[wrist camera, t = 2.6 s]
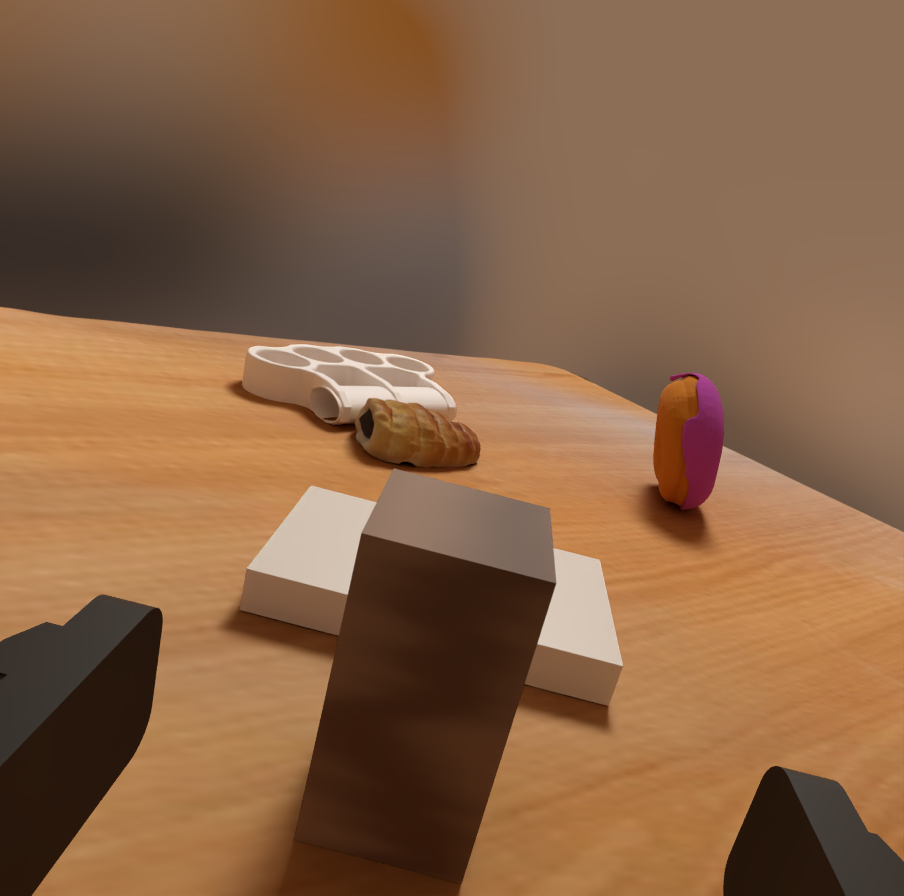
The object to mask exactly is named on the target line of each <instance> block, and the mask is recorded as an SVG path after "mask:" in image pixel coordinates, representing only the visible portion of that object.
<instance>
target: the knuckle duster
mask: <svg viewBox="0 0 904 896" xmlns="http://www.w3.org/2000/svg"><path fill="white" fill-rule="evenodd" d="M433 375H434V370H433V368H432V367H431V366H429V365H428V364H426V363H424V362H421V361H419V360H416V359H413V358H410V357H406V356H402V355H397V354H381V353H374V352H368V351H364V350H360V349H354V348H347V347H340V346H337V347H321V346H313V345H308V344H299V345H289V346H287V347H264V346H254V347H251V348H249V349H248V351H247V354H246V360H245V367H244V373H243V380H242V386H243V388H244V389H245V390H247V391H248V392H250V393H252V394H254V395H257V396H259V397H262V398H266V399H269V400H273V401H278V402H284V403H293V404H297V405H300V406H303V407H306V408H309V409H310V410H312V411H313V412H314V413H315V415H316V416H318V417H319V418H320V419H322V420H323V421H325V422H326V423H330V424H332V425H341V424H344V423H355V421H356V419H357V416H358V414H359V412H360V410H361V409H362V407H364V406H365V404H366V402H367V399H368V398H378V399H381V400H384V401H385V400H395V401H399V402H403V403H406V404H407V403H418V404H420V405H422V406H423V407H424V408H425V409H430V410H433V411H435V412H439V413H440V414H443V415H446V416H447V417H448V419H449V420H450V421H452V420H453V419H454V418H455V416H456V411H457V409H456V404H455V402H454V400H453V399H452V397H451V396H450V395H449V393H447V392H446V391H445V390H444V389H443V388H441V387H440V386H439V385H438V384H437V383H435V382H433V381H432V379H433ZM328 417H338V418H337V420H336V421H331V420H324V419H323V418H328Z"/></svg>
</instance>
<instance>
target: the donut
mask: <svg viewBox="0 0 904 896" xmlns="http://www.w3.org/2000/svg"><path fill="white" fill-rule="evenodd" d="M680 377H682V378H683V379H681V380H680V381H674V380H676V379H678V378H680ZM670 380H671V381H674V382H672V383H671V384H669V385H668V386H667V387H666V388H665V389H664V390H663V392H662V394H661V396H660V399H659V405H658V414H657V422H656V432H655V441H654V455H653V461H654V470H655V474H656V477H657V480H658V482H659V491H660V494H661V496H662V497H663V498H664V499H665V500H666V501H668V502H674V503H676V504H677V505H679V508H680V509H682V510H683V509H692V508H695V507H697V506H699V505H701V504H702V503H703V502H705V500H706V499H707V498H708V497H709V495H710V494H711V492H712V489H713V487H714V484H715V480H716V475H717V471H718V467H719V462H720V458H721V453H722V447H723V439H724V414H723V408H722V403H721V399H720V396H719V393H718V391H717V389H716V387H715V386H714V384H713V383H712V382H711V381H710V380H709V379H708V378H706V377H705V376H703V375H701V374H698V373H683V374H679V375H674V376H671V377H670Z"/></svg>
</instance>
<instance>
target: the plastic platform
mask: <svg viewBox="0 0 904 896" xmlns="http://www.w3.org/2000/svg"><path fill="white" fill-rule="evenodd" d="M376 503H377V502H373V501H369V500H365V499H361V498H357V497H353V496H349V495H346V494H342V493H338V492H334V491H330V490H326V489H322V488H318V487H315V486H310V488H309V489H308V490H307V491H306V493H305V494H304V495H303V497H302V498H301V499H300V500H299V502H298V503H297V504H296V506H295V507H294V508H293V510H292V511H291V512H290V513H289V515H288V516H287V517H286V519H285V520H284V521H283V522H282V524H281V525H280V526H279V528H278V529H277V530H276V531H275V533H274V534H273V535H272V537H271V538H270V539H269V540H268V542H267V543H266V544H265V546H264V547H263V548H262V549H261V551H260V552H259V553H258V555H257V556H256V557H255V558H254V560H253V561H252V562H251V564H250V565H249V566H248V568H247V570H246V576H245V582H244V587H243V593H242V599H241V605H240V610H242V611H246V612H249V613H253V614H257V615H261V616H265V617H269V618H272V619H276V620H280V621H284V622H288V623H292V624H295V625H299V626H303V627H307V628H311V629H315V630H319V631H322V632H326V633H330V634H334V635H338V636H339V632H340V628H341V623H342V619H343V614H344V610H345V605H346V600H347V596H348V591H349V587H350V582H351V578H352V573H353V569H354V564H355V559H356V555H357V550H358V546H359V541H360V537H361V533H362V531H363V529H364V527H365V525H366V523H367V521H368V519H369V517H370V515H371V513H372V511H373V509H374V507H375V505H376ZM553 550H554V561H555V573H556V586H555V590H554V593H553V596H552V599H551V602H550V605H549V609H548V612H547V615H546V618H545V621H544V624H543V627H542V631H541V634H540V637H539V640H538V643H537V646H536V650H535V653H534V656H533V659H532V662H531V665H530V669H529V672H528V675H527V678H526V681H525V684H526V685H530V686H534V687H537V688H541V689H545V690H549V691H553V692H557V693H560V694H564V695H568V696H572V697H576V698H580V699H583V700H587V701H591V702H595V703H599V704H603V705H606V706H609V703H610V701H611V698H612V695H613V692H614V689H615V687H616V684H617V681H618V678H619V676H620V673H621V670H622V667H623V664H622V660H621V655H620V651H619V646H618V641H617V637H616V632H615V628H614V623H613V618H612V614H611V609H610V605H609V600H608V596H607V591H606V586H605V582H604V577H603V573H602V568H601V563H600V560H598V559H594V558H590V557H586V556H582V555H578V554H574V553H571V552H567V551H563V550H559V549H555V548H553Z"/></svg>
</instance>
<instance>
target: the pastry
mask: <svg viewBox="0 0 904 896" xmlns="http://www.w3.org/2000/svg"><path fill="white" fill-rule="evenodd" d="M355 427H356V430H357V435H356V439H357V441H358V442H359V443H360V444H361V445H362V446H363V448H364V449H365V450H366V451H367V452H368V453H369V454H370V455H372V456H373V457H376V458H378V459H380V460H382V461H385V462H392V463H396V464H400V463H401V462H411V463H413V464H414V466H418V467H431V466H432V467H436V468H439V467H465V466H466V465H469V464H474V463H476V461H477V460H478V459H479V456H480V449H481V448H480V443H479V441H478V438H477V436H476V434H475V433H474V432H473V431H472V430H471V429H470V428H468V427H467V426H466V425H464V424H462V423H460V422H451V421H450V420H449V419H448V417H447V416H446V415H443V414H440V413H439V412H435V411H433V410H430V409H425V408H424V407H423V406H422V405H420V404H418V403H407V404H406V403H403V402H399V401H395V400H385V401H384V400H381V399H378V398H368V399H367V402H366V404H365V406H364V407H362V409H361V410H360V412H359V414H358V416H357V419H356V421H355Z"/></svg>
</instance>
